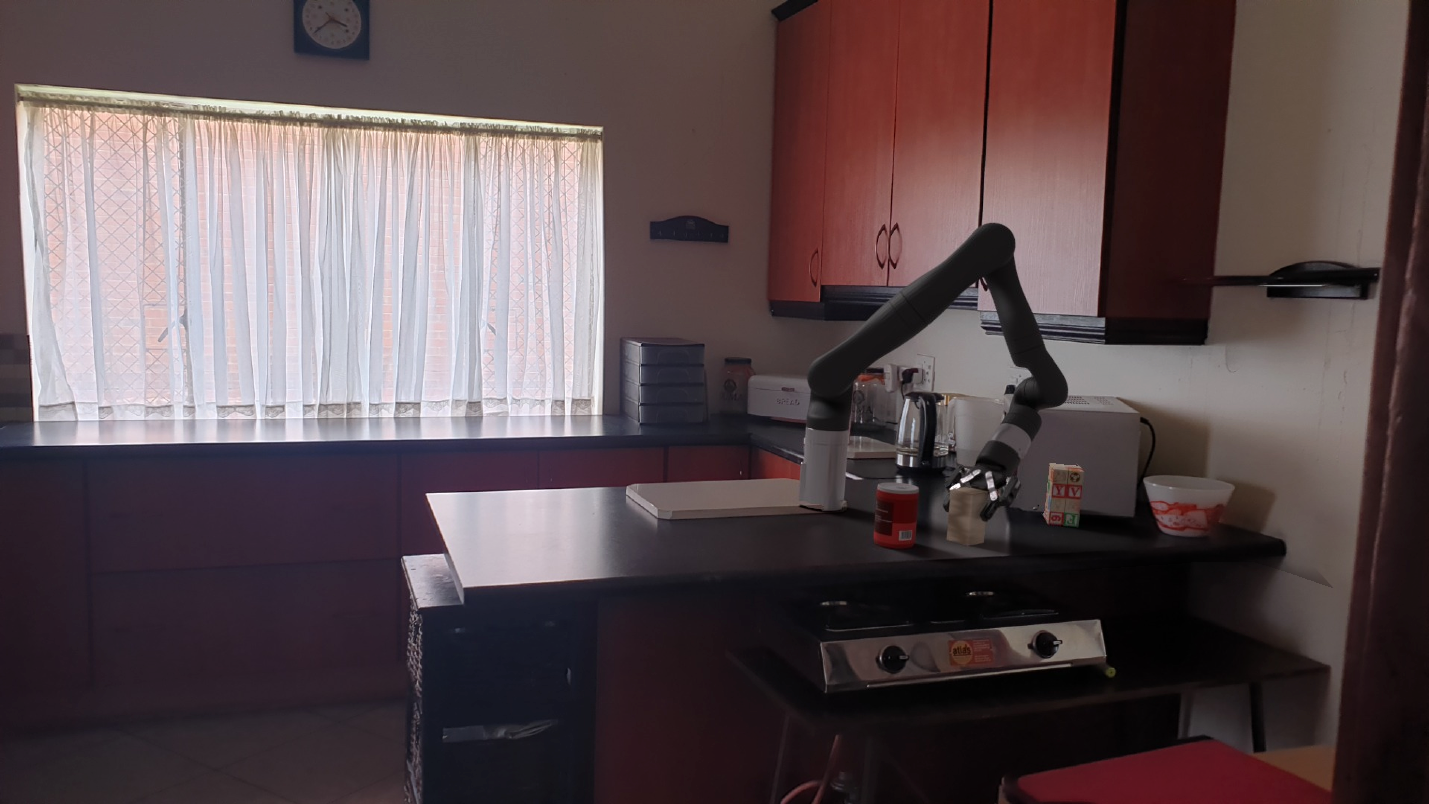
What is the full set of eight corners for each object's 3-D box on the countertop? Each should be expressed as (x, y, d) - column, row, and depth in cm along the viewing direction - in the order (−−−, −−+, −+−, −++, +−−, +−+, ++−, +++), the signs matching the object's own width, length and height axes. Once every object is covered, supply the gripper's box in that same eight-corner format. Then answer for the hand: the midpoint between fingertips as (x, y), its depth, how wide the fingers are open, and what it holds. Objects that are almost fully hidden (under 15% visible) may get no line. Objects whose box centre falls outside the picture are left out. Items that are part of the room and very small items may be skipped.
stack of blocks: (1035, 504, 232) (1040, 452, 230) (1063, 507, 231) (1068, 455, 229) (1048, 525, 211) (1053, 467, 210) (1079, 527, 210) (1084, 470, 208)
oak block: (946, 539, 192) (950, 488, 191) (962, 536, 195) (966, 486, 194) (968, 545, 188) (972, 493, 187) (983, 542, 192) (988, 491, 190)
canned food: (919, 542, 189) (923, 485, 187) (908, 551, 181) (913, 492, 180) (879, 536, 192) (884, 480, 191) (868, 545, 185) (872, 486, 183)
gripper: (967, 434, 200) (926, 495, 194) (1029, 444, 189) (988, 509, 183) (980, 458, 204) (941, 518, 198) (1042, 470, 193) (1002, 534, 187)
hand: (964, 514), depth 191 cm, fingers open, 8 cm apart
